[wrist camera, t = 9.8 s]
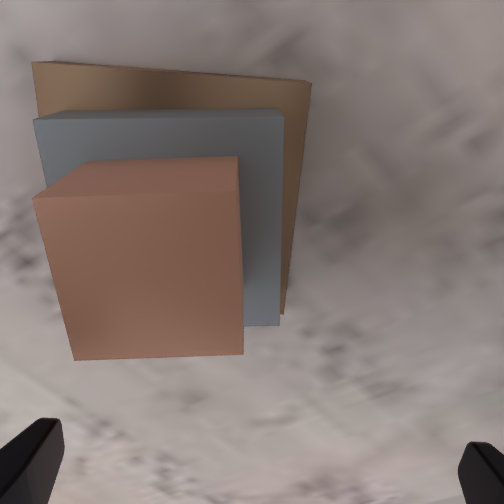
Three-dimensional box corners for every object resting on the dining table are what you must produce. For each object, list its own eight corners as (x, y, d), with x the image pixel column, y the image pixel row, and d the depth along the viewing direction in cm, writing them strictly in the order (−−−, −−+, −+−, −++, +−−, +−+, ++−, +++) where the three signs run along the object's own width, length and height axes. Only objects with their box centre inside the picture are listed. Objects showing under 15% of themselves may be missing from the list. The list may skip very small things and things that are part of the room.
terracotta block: (237, 156, 14) (235, 190, 10) (243, 287, 16) (243, 354, 13) (86, 161, 14) (32, 197, 10) (112, 292, 16) (74, 360, 13)
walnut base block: (302, 79, 18) (311, 83, 16) (279, 287, 22) (283, 314, 20) (59, 61, 17) (31, 62, 15) (82, 277, 22) (63, 303, 19)
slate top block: (278, 108, 16) (284, 116, 14) (275, 293, 19) (279, 325, 17) (62, 110, 16) (32, 119, 14) (97, 296, 19) (77, 329, 17)
